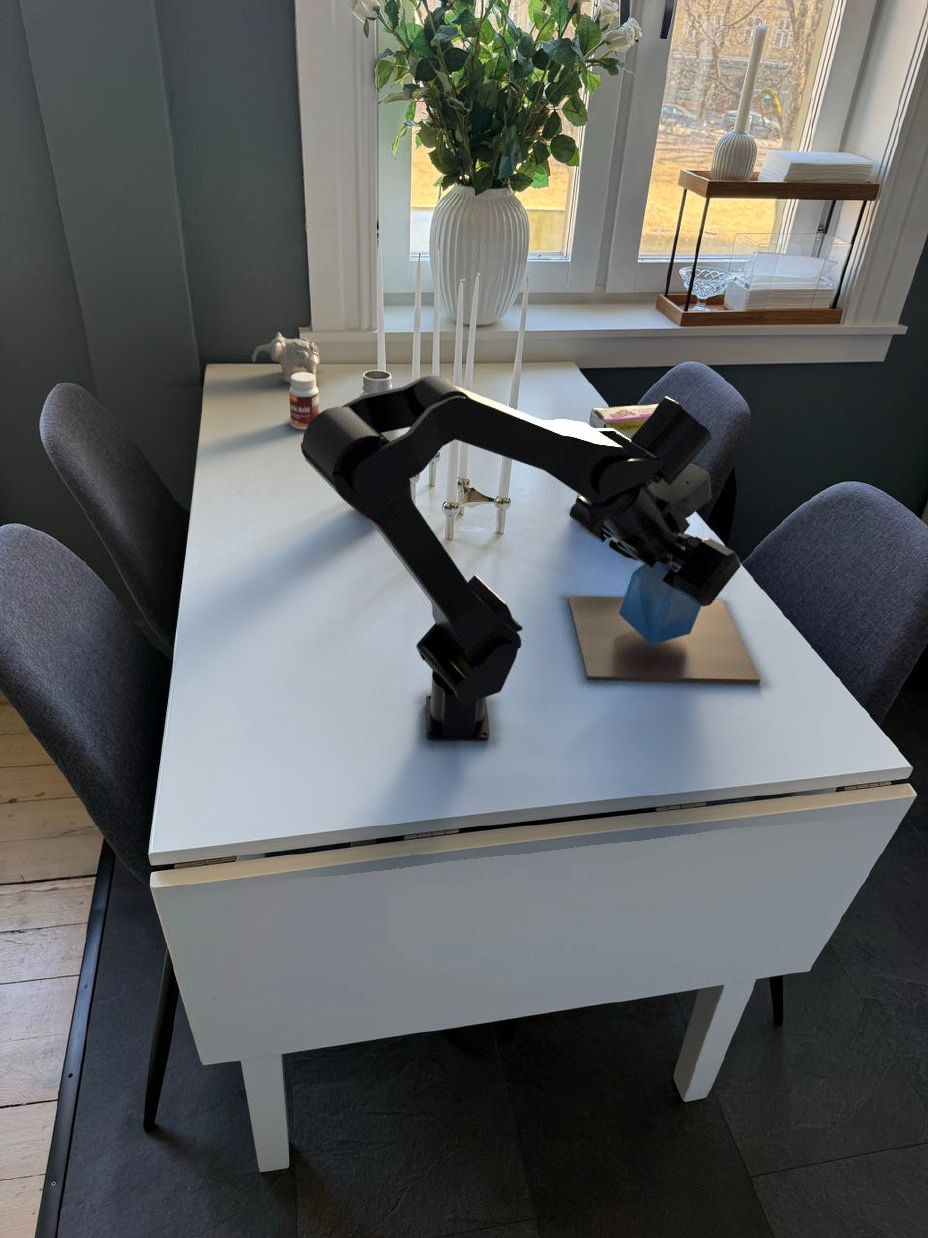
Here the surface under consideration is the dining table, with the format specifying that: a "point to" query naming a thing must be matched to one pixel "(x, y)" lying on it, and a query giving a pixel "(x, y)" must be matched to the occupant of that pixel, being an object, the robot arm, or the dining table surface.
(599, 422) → the candy bar box
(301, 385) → the pill bottle
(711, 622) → the walnut board
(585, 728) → the dining table surface
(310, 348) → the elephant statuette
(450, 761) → the dining table surface
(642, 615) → the perfume bottle
